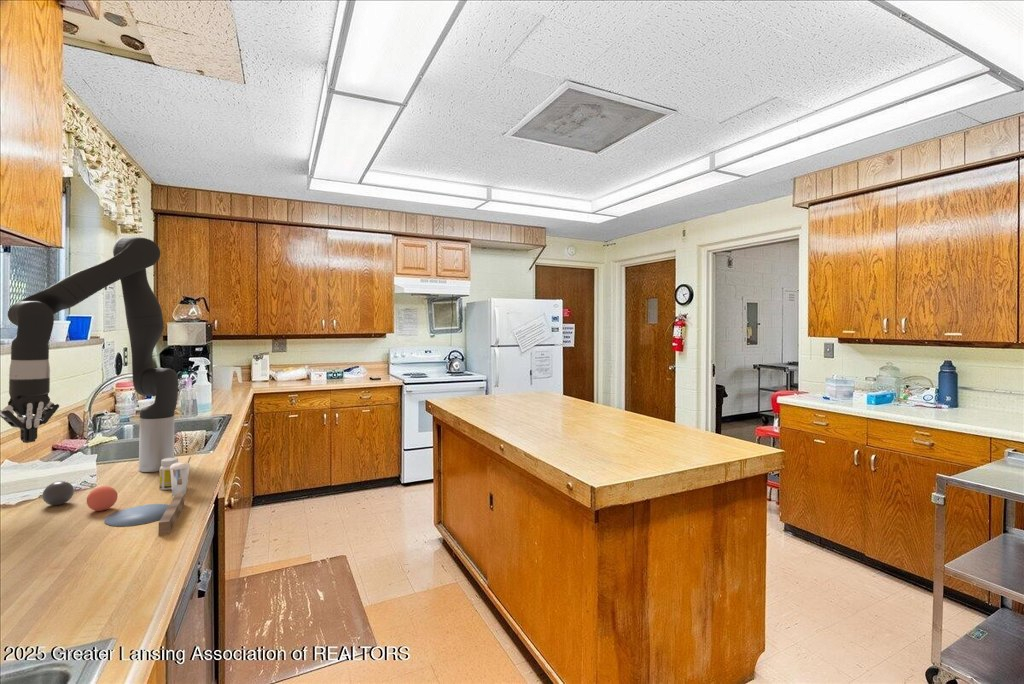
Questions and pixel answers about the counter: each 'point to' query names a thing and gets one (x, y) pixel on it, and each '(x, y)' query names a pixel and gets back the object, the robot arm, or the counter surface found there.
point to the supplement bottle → (166, 473)
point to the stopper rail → (171, 514)
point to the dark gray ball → (58, 493)
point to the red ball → (102, 498)
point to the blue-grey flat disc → (137, 515)
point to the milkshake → (179, 477)
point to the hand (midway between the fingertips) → (29, 442)
